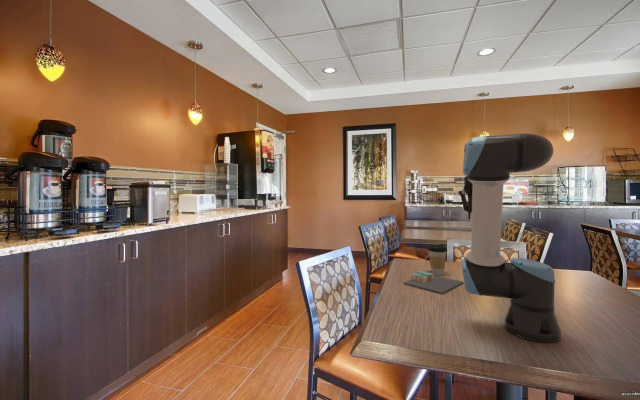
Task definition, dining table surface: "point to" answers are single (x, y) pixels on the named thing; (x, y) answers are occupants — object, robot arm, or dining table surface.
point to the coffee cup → (437, 259)
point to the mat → (436, 284)
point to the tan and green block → (422, 276)
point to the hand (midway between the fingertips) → (473, 226)
